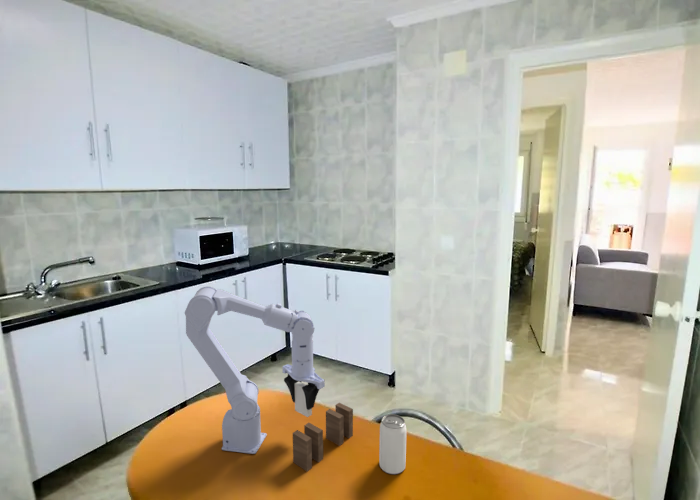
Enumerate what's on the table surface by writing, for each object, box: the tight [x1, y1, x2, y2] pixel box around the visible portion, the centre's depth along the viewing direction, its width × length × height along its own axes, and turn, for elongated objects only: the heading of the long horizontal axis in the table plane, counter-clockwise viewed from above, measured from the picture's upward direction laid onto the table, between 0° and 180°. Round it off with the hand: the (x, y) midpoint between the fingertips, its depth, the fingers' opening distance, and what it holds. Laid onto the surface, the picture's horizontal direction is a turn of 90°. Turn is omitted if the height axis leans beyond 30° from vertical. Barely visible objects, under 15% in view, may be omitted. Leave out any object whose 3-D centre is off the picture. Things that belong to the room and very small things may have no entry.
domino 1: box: [294, 382, 313, 418], centre depth 100 cm, size 2×5×8 cm, turn 51°
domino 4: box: [325, 408, 345, 447], centre depth 99 cm, size 2×5×8 cm, turn 51°
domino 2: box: [292, 429, 313, 472], centre depth 90 cm, size 2×5×8 cm, turn 51°
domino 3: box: [303, 422, 324, 463], centre depth 93 cm, size 2×5×8 cm, turn 51°
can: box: [378, 413, 407, 475], centre depth 90 cm, size 6×6×12 cm
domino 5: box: [334, 402, 354, 439], centre depth 102 cm, size 2×5×8 cm, turn 51°
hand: (303, 404), depth 101 cm, fingers closed on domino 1, 5 cm apart
